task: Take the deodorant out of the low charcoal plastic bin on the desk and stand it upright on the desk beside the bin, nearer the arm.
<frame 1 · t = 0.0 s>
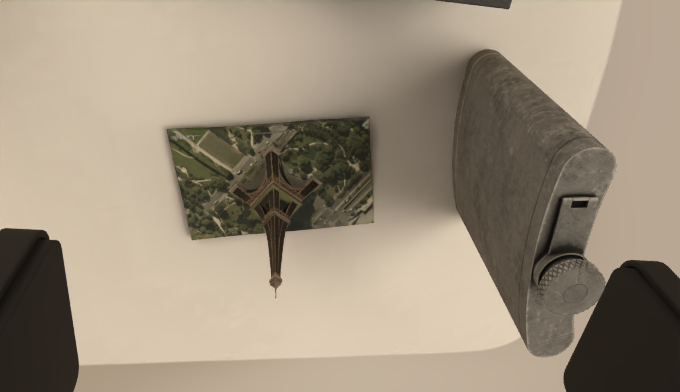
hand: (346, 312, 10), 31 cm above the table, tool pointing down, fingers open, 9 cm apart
flask: (473, 139, 44), on the table
eiffel tower figurine: (277, 176, 44), on the table
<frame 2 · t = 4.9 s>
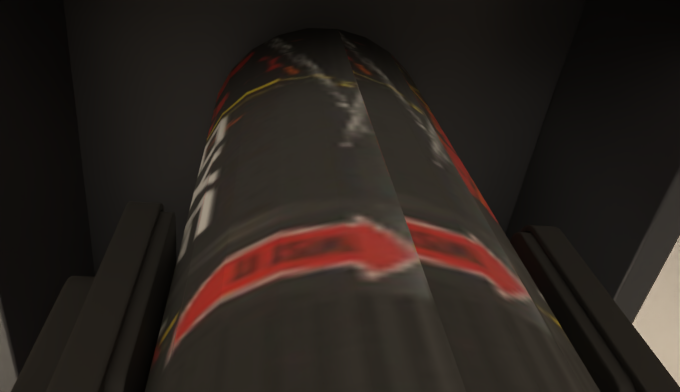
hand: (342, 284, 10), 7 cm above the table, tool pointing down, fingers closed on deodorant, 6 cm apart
deodorant: (318, 130, 16), resting on bin, touching gripper
bin: (318, 125, 16), on the table
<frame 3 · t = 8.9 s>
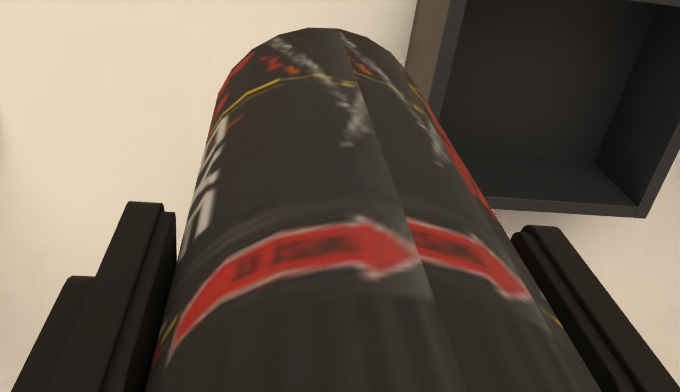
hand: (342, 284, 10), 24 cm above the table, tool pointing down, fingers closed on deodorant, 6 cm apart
deodorant: (319, 130, 16), point 17 cm above the table, touching gripper
bin: (523, 70, 34), on the table
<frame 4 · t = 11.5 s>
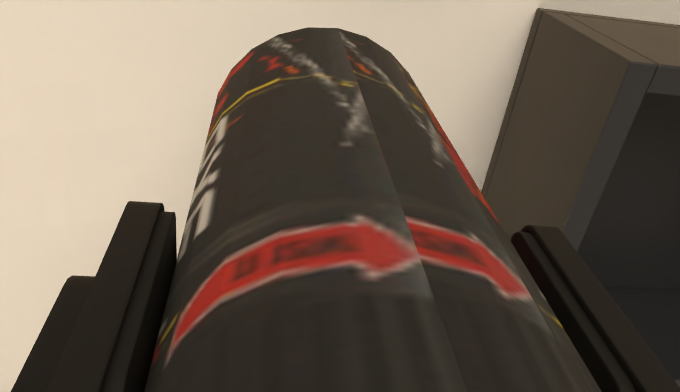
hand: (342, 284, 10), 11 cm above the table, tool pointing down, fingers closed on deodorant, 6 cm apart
deodorant: (318, 129, 16), point 5 cm above the table, touching gripper
bin: (650, 179, 24), on the table
when the fingers open (7 cm above the table, at t = 13.2 s): deodorant stays where it is, on the table.
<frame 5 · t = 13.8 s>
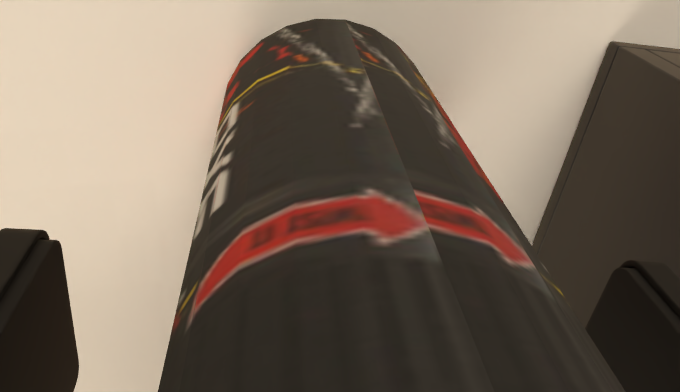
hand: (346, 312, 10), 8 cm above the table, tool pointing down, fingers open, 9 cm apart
deodorant: (325, 120, 16), on the table
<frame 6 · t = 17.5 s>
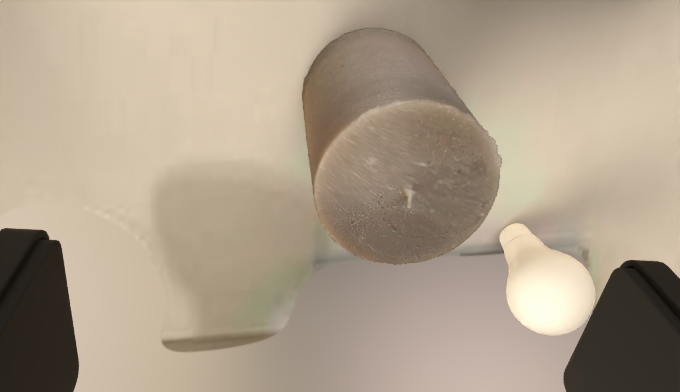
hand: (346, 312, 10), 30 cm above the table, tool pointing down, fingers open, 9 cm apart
lightbulb: (509, 228, 48), on the table
pillar candle: (370, 92, 40), on the table
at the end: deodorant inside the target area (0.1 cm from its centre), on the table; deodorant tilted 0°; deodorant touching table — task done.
